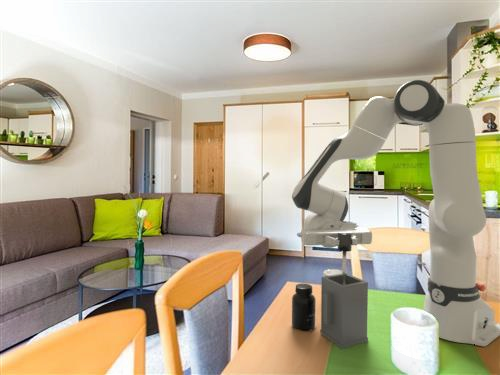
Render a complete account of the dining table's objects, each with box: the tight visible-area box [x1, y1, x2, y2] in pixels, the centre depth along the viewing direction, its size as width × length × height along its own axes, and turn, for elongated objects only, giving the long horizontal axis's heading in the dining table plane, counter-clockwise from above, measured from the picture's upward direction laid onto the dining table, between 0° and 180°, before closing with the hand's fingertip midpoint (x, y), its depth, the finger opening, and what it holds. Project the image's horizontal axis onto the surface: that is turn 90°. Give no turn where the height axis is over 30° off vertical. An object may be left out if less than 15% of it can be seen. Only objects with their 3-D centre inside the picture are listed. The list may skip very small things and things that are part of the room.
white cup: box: [323, 268, 342, 277], centre depth 115 cm, size 8×8×10 cm
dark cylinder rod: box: [337, 232, 353, 285], centre depth 89 cm, size 6×6×17 cm
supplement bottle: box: [291, 283, 316, 332], centre depth 96 cm, size 7×7×12 cm
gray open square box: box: [319, 272, 369, 350], centre depth 89 cm, size 11×9×16 cm
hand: (345, 242), depth 88 cm, fingers closed on dark cylinder rod, 4 cm apart
